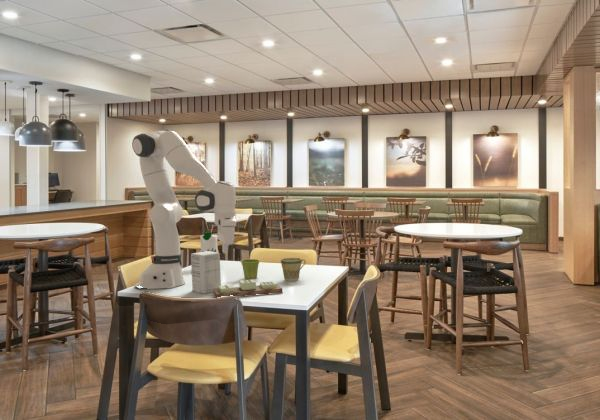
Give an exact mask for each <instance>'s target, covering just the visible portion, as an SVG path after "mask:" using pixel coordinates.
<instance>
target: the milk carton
mask: <svg viewBox="0 0 600 420" xmlns="http://www.w3.org/2000/svg"><path fill="white" fill-rule="evenodd" d="M199 238H200V252H204V251H211V252H218V253H219V251H218V249H219V248H218V234H212V231H204V232H203V234H202V235H200V237H199Z"/></svg>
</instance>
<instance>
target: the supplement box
mask: <svg viewBox="0 0 600 420" xmlns="http://www.w3.org/2000/svg"><path fill="white" fill-rule="evenodd" d="M220 255H221V253H220V252H219V251H218V252H211V251H204V252H201V251H199V252H193V253H191V254H190V262H191V263H190V264H191V265H190V267H191V283H192V284H191V285H192V286H191V287H192V289H191V290H192V292H197V293H201V294H209V293H213V289H219V286H222V283H221V281H222V280H221V278H222V277H221V263H220V262H221V257H220Z"/></svg>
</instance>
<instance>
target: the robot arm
mask: <svg viewBox="0 0 600 420" xmlns="http://www.w3.org/2000/svg"><path fill="white" fill-rule="evenodd" d="M131 144H132V150H133V152H134V154H135V155H136V156H137V157H139V167H140V173H141V175H142V179H143V181H144V185H145V189H146V191H147V194H148V195H149V197H150V198H151V200H152V201H153V204H154V205H153V206H152V207H151V209H150V210H149V213H148V214H149V215H148V216H149V221H151V224H152V228H153V234H154V238H155V255H153V254H152V255H151V256H150V259H151V264H150V265H148V267H146V268H144V270H142V272H141V274H140V276H139V281H138V282H136V283H135V286H139V285H140V286H142V287H143V288H147V289H146V290H152V289H153V290H156V289H158V290H159V289H173V288H175V287H178V286H179V287H180V286H182V285H184V284H185V283H186V282H185V279H184V275H183V269H182V263H183V256H182V253H181V237H180V234H179V231H178V228H177V223H178V222H179V221H180V220H181V219H182V218H183V215H184V210H183V206H181V204H180V202H179V199H178V198H177V196H176V192H175V191H174V189H173V186H172V185H171V181H170V178H169V174H168V171H167V169H166V166H165V163H164V159H165V160H166V162H167V163H168V164H169V166H170V167H171V168H172V169H173V170H174V171H175V172H177V173H180V174H183V175H186V176H189V177H192V178H194V179H196V180H197V181H198V182H199V183H200V184H201V186H203V189H201V190H200V189H199V190H198V191H197V192H196V194H195V195H194V205H195V207H196V208H197V210H198V211H200V212H205V213H207V212H214V225H216V226H217V240H218V241H220V242H221V247H222V253H223V254H228V252H229V246H230V245H231V246H233V245H234V241H235V230H236V228H235V227H236V226H237V217H236V216H237V214H236V213H237V212H236V204H237V203H236V201H237V196H236V187H235V185H234V184H233V183H232V182H228V181H224V180H222V181H220V180H219V181H218V180H217V179H216V178H215V177H214V176H213V174H212V173H211V172H210V170H209V169H208V168H207V167H206V166H205V165H204V164H203V162H201V161H200V159H199V158H197V156H196V155H195V154H194V153H193V152H192V150H191V148H190V146H189V145H188V144H187V143H186V141H185V140H184V139H183V138H182V137H181V136H180V134H178V132H176V131H174V130H170V129H165V130H154V131H149V132H145V133H139V134H137V135H135V136H134V137H133V139H132V143H131Z"/></svg>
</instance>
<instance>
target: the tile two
mask: <svg viewBox="0 0 600 420" xmlns="http://www.w3.org/2000/svg"><path fill="white" fill-rule="evenodd" d="M238 282H239V285H238V287H240V288H241V290H251V289H256V285H257V282H256V281H255V280H254V278H253V279H242V280H238Z"/></svg>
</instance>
